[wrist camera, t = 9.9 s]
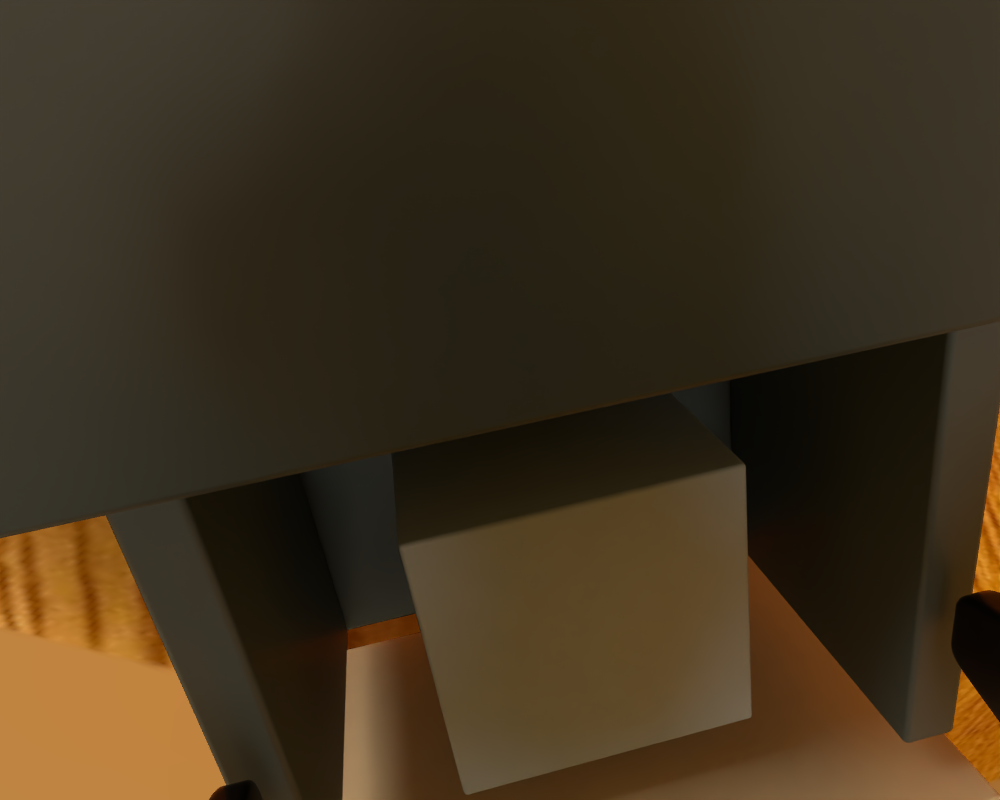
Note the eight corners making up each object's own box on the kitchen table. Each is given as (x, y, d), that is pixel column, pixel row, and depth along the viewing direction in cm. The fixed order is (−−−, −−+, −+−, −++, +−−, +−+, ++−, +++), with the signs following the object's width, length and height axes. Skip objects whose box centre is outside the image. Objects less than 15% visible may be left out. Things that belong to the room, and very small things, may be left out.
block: (648, 549, 15) (753, 718, 11) (436, 601, 15) (464, 797, 11) (629, 349, 14) (748, 464, 9) (387, 402, 13) (398, 547, 9)
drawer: (773, 622, 18) (984, 893, 12) (320, 736, 17) (296, 1099, 11) (776, 19, 13) (1171, -52, 7) (105, 131, 12) (-192, 173, 5)
